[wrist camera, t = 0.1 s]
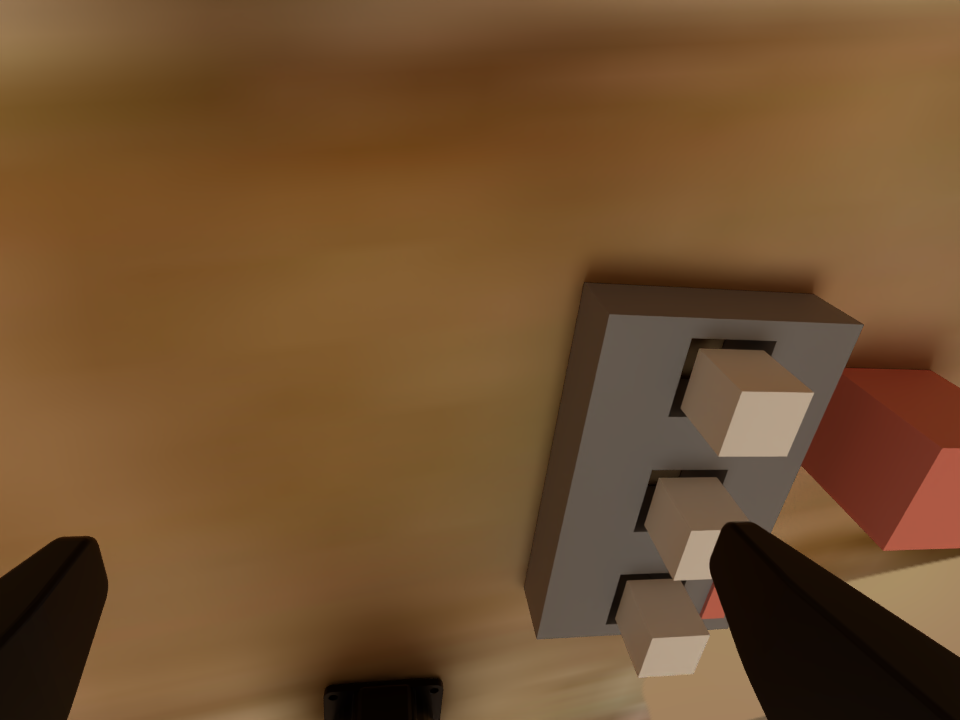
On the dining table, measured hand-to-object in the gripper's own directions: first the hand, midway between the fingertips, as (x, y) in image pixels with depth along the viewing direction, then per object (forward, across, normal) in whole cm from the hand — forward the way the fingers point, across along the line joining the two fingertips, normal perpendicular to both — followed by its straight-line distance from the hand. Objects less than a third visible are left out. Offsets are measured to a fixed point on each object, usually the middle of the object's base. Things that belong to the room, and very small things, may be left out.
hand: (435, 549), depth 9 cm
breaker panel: (+15, -12, +10) cm, 21 cm away
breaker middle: (+12, -12, +10) cm, 19 cm away
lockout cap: (+15, -22, +7) cm, 27 cm away
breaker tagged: (+12, -12, +16) cm, 23 cm away
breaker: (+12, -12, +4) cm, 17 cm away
